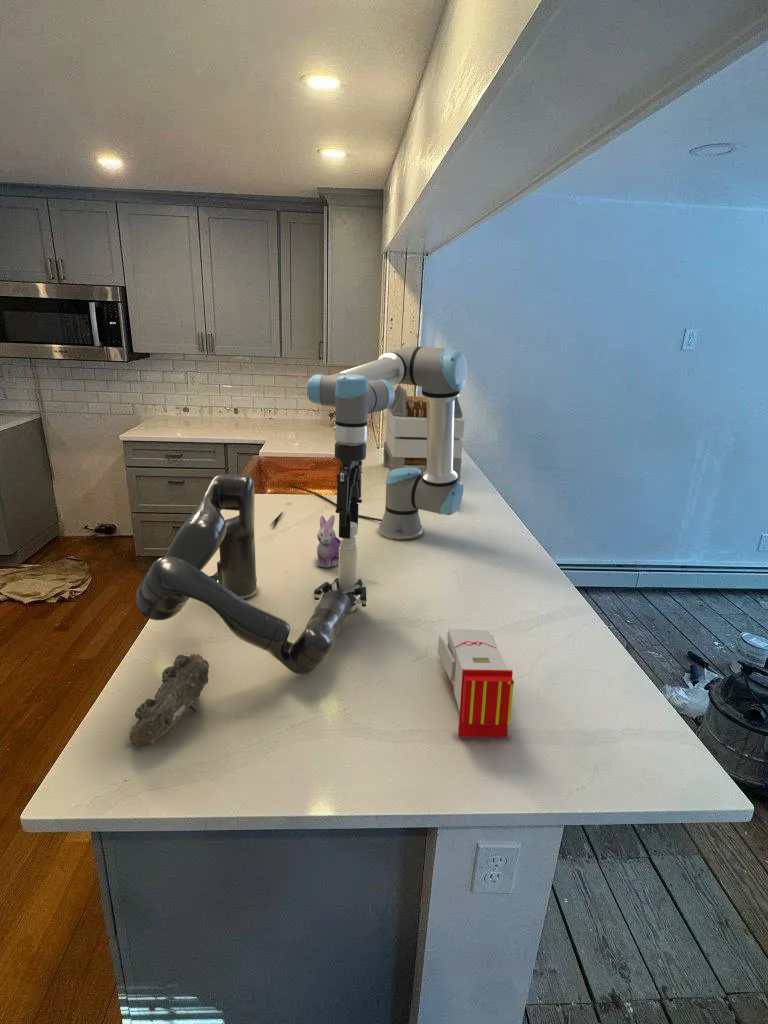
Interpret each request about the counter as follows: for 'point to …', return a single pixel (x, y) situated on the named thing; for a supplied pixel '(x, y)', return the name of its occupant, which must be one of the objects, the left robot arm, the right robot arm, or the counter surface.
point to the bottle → (347, 564)
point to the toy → (478, 682)
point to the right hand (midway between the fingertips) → (348, 532)
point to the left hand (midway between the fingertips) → (350, 581)
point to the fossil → (170, 698)
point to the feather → (276, 520)
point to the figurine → (327, 544)
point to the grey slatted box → (415, 432)
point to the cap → (353, 529)
